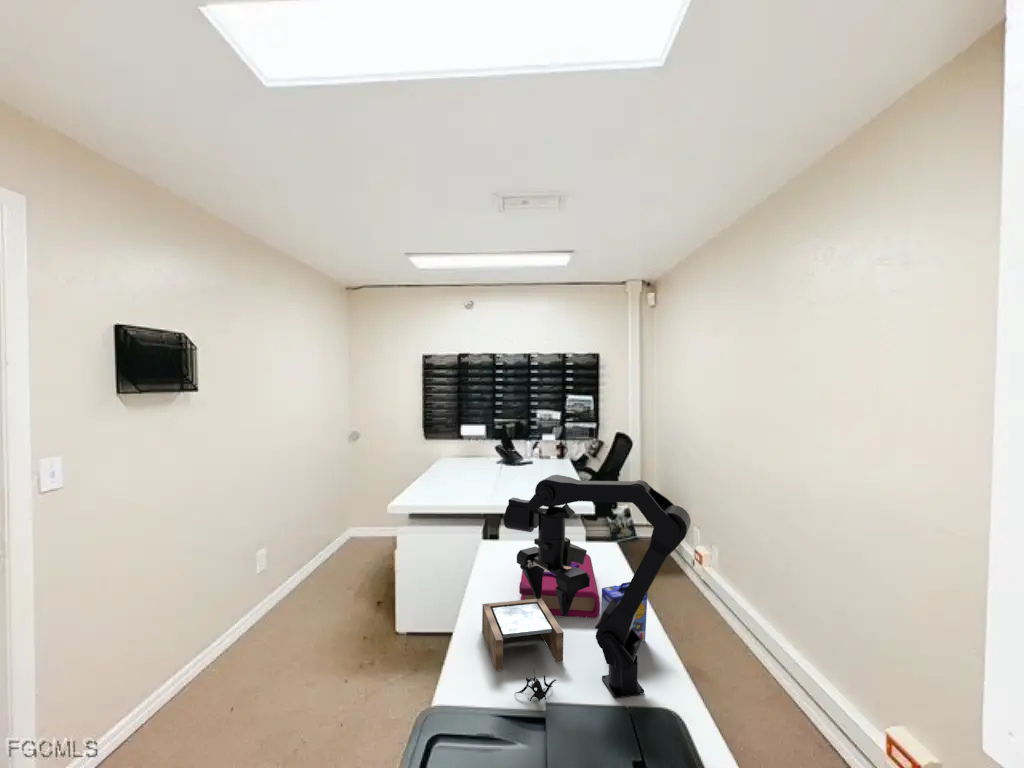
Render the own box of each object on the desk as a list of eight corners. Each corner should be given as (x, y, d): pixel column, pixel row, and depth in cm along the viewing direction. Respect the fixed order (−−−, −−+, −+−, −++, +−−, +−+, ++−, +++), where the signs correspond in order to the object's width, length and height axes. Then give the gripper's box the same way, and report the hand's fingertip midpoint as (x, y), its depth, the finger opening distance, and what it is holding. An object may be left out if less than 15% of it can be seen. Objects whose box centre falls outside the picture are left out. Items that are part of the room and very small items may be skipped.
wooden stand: (562, 661, 107) (563, 632, 107) (495, 670, 104) (496, 640, 104) (541, 623, 123) (541, 598, 123) (482, 630, 120) (482, 603, 120)
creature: (511, 693, 99) (523, 710, 91) (509, 664, 100) (521, 679, 92) (547, 686, 101) (562, 703, 93) (546, 658, 102) (560, 672, 94)
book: (590, 575, 155) (591, 551, 154) (599, 620, 127) (600, 591, 126) (524, 572, 156) (524, 548, 156) (518, 615, 128) (518, 586, 128)
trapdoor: (551, 632, 109) (551, 628, 109) (503, 637, 106) (503, 634, 106) (536, 606, 120) (536, 603, 120) (492, 611, 118) (492, 608, 118)
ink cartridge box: (611, 649, 112) (612, 587, 112) (598, 637, 118) (600, 577, 117) (647, 641, 116) (648, 581, 116) (633, 630, 121) (635, 572, 121)
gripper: (610, 540, 102) (609, 615, 103) (554, 518, 118) (553, 582, 118) (568, 551, 96) (567, 630, 96) (515, 526, 112) (515, 594, 112)
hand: (551, 606), depth 106 cm, fingers open, 9 cm apart
